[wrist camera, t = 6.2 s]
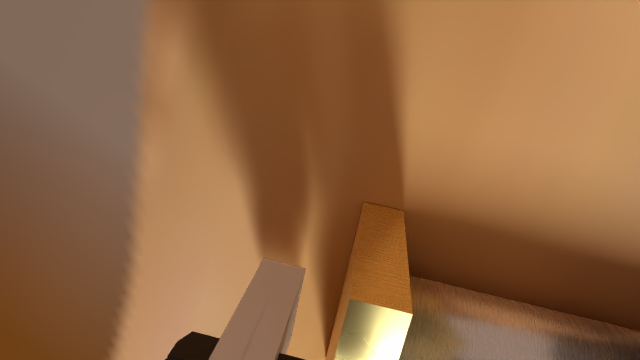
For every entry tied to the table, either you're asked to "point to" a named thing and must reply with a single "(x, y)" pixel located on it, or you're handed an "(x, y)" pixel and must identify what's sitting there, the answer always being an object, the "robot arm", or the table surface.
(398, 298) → the lynch pin
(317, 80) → the table surface
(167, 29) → the table surface
